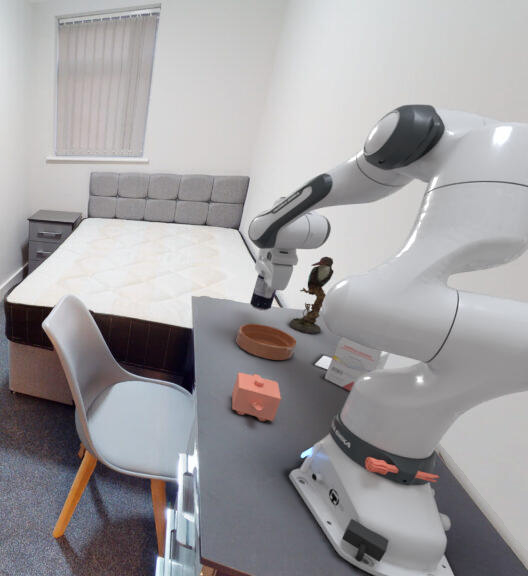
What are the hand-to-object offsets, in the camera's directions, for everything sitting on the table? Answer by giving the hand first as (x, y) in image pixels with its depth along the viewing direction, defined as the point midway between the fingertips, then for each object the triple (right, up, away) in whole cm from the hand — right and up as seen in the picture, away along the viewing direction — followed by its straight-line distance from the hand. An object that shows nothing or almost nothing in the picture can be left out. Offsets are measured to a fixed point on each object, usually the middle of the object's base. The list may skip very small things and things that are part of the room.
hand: (264, 293), depth 116 cm
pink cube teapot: (-25, -27, -32) cm, 48 cm away
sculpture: (+17, -12, +6) cm, 22 cm away
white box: (+10, -20, -14) cm, 27 cm away
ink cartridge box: (+7, -23, -22) cm, 33 cm away
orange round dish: (-4, -16, -6) cm, 18 cm away
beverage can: (0, -5, +2) cm, 5 cm away
